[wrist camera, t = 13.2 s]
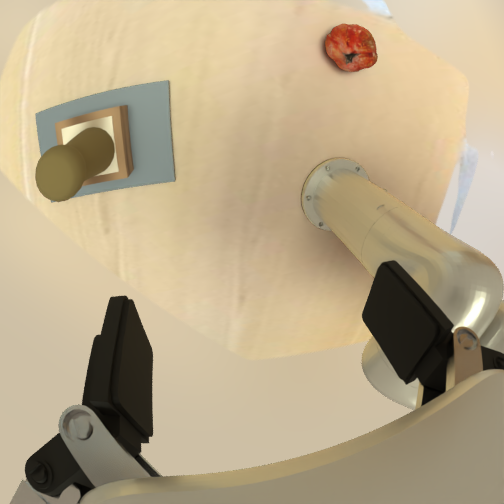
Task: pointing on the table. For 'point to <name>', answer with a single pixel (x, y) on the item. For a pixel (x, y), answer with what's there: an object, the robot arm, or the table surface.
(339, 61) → the pomegranate
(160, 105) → the board
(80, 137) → the cork
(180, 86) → the table surface
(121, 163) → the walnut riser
